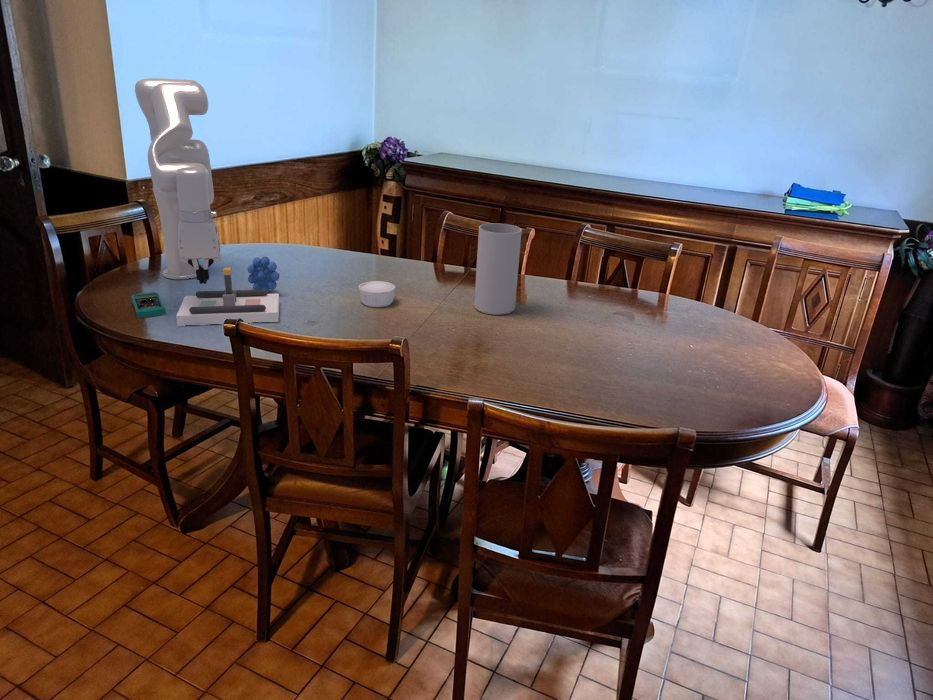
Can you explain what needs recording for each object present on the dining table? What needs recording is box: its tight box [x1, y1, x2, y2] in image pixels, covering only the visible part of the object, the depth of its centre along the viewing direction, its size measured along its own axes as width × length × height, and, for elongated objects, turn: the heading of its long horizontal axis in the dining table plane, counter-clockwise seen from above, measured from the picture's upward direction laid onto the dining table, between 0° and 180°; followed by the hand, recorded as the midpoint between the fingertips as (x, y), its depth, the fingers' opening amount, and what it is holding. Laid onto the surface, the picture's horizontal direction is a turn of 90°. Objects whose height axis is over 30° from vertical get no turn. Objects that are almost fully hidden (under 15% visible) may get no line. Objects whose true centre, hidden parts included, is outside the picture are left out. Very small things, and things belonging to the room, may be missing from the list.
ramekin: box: [358, 280, 396, 308], centre depth 199 cm, size 11×11×5 cm
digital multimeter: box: [130, 291, 166, 319], centre depth 185 cm, size 7×15×3 cm, turn 31°
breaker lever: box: [222, 267, 235, 296], centre depth 181 cm, size 3×2×10 cm
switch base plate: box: [176, 288, 280, 327], centre depth 183 cm, size 16×26×6 cm, turn 104°
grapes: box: [247, 255, 280, 293], centre depth 200 cm, size 12×7×12 cm, turn 68°
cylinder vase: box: [473, 222, 523, 316], centre depth 195 cm, size 12×12×25 cm
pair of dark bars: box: [189, 289, 269, 314], centre depth 183 cm, size 15×20×2 cm
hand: (203, 282), depth 179 cm, fingers closed
